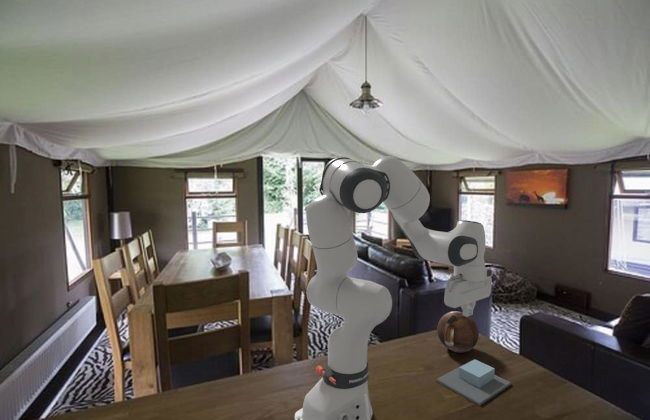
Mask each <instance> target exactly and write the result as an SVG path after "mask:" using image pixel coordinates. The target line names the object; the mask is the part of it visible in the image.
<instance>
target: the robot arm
mask: <svg viewBox="0 0 650 420" xmlns="http://www.w3.org/2000/svg"><path fill="white" fill-rule="evenodd" d="M319 185H320V186H319V188H318V189H319V194H320V195H321V196H319V197H317V198H315V199H313V200H311V202H310V203H309V204H308V205H307V207H306V210H305V215H306V217H305V218H306V224H307V225H306V226H307V232H308V236H309V241H310V244H311V248H312V251H313V255H314V259H315V263H316V274H315V275H313V276H312V277H311V279H309V282H308V284H307V287H306V298H307V301H308V303H309V305H311V306H312V307H315V308H316V309H318V310H320V311H322V312H325V313H328V314H331V315H336V316H339V317H342V318H343V325H340V326H338V327H336V328H334V329H333V330H332V331H331V333H330V334H329V336H328V338H327V362H326V363H325V367H324V368H323V367H322V365H318V366H316V368H315V372H316V373H317V374H318V375H319V376H321V378H320V379H319V380H318V382H317V383H316V384H315V385H314V386H313V387H312V388H311V389H310V390H309V391H308V392H307V394H306V395H305V396H304V400H303V404H302V407H301V408H300V409H298V410H297V411H296V412H295V413H294V420H372V418H373V414H374V413H373V412H374V411H373V407H372V403H371V399H370V395H369V394H370V393H369V386H368V383H369V382H368V379H369V374H370V373H369V363H368V346H369V345H368V343H369V337H370V334H371V333H372V331H373V330H374V328H375V327H377V326H378V325H379V324H382V323H383V322H384V321H385V320H387V318H388V317H389V316H390V314H391V312H392V307H393V298H392V295H391V293H390V291H389V289H388V288H387V287H386V286H385V285H382V284H379V283H377V282H374V281H372V280H367V279H362V278H356V277H351V276H349V275H348V274H347V273H349V272H350V271H352V270H353V268H355V266H356V264H357V263H358V262H357V261H358V258H359V257H358V252H357V251H358V250H357V247H356V242H355V238H354V234H353V230H352V226H351V220H350V217H351V216H350V215H351V212H353V213H357V214H369V213H371V212H373V211H374V210H376V209H377V208H378V207H380V206H381V204H384V205H385V206H386V208H387V209H388V210H389V212H390V215H391V217H392V219H393V221H394V222H395V224H396V225H397V227H398V228H399V230H401V232H402V233H403V235H404V236H405V238H406V239H407V241H408V242H409V244H410V245H411V246H410V247H411V249H412V251H413V254H414V255H415V257H416V258H417V259H418V260H421V261H427V262H433V263H437V264H441V265H447V266H452V267H453V275H452V276H450V278H449V279H448V280H447V282H446V284H445V288H444V296H443V298H444V299H443V302H444V303H443V304H444V305H445V306H447V307H449V308H453V309H457V308H459V307H460V308H461V310H462V313H463V316H466V317H468V316H469V317H470V316H473V314H474V308H475V306H476V303H477V301H480V300H483V299H486V298H489V297H490V295H491V294H492V285H493V283H492V279H493V278H492V276H493V274H494V270H493V269H492V268H490V267H489V268H488V267H486V262H485V257H484V255H485V252H486V230H485V226H484V225H483V223H481V222H479V221H474V220H473V221H472V220H466V219H465V220H464V219H462V220H458V221H457V222H456V226H455V227H454V228H453V229H452V230H450V231H448V232H447V231H446V232H445V231H438V230H433V229H430V228H428V227H424V225H423V224H422V223H421V221H420V219H421V217H422V216H423V215H425V213H426V212H427V210H428V208H429V206H430V201H431V200H430V199H431V196H430V193H429V191H428V189H427V187H426V186H425V184H424V183H423V182H422V180H421V179H420V178H419V177H418V176H417V175H416V174H415V172H414V171H413V170H412V169H410V167H408V165H406V164H405V163H404V162H403V161H401V159H399V158H397V157H396V156H392V155H388V156H387V155H386V156H383V157H380V158H378V159H377V160H376V161H375V162H374V163H373V164H372V165H370V166H367V165H365V164H363V163H362V162H360V161H357V160H354V159H351V158H349V157H341V156H339V157H335V158H334V159H331V160H330V161H328V162H327V163H326V165H325V166H324V168H323V170H322V176H321V181H320V184H319Z"/></svg>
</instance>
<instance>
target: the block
mask: <svg viewBox="0 0 650 420" xmlns="http://www.w3.org/2000/svg"><path fill="white" fill-rule="evenodd" d="M468 362H469V363H468ZM468 362H466V363H467V364H466V363H464V364H465V365H464V364H462V365H463V366H462V365H461V367H460V366H459V378H461V379H463V380H465V381H466V382H468V383H470V384H472V385H474V386H476V387H478V388H480V387H482V386H483V385H485V384H486V383H488V382H490V381H491V380H493V379H494V375H496V374H495V371H496V370H495V369H496V368H494V367H492V366H490V365H489V364H486V363H484V362H481V361H480V360H477V359H473V360H470V361H468Z"/></svg>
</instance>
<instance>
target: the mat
mask: <svg viewBox="0 0 650 420" xmlns="http://www.w3.org/2000/svg"><path fill="white" fill-rule="evenodd" d="M469 362H470V361H467V362H466V363H463V364H461V366H463V365H465V364H467V363H469ZM461 366H459V367H461ZM459 367H456V368H454V369H452V370H450V371H448V372H447V373H444V374H443V375H441V376H439V377H437V378H436V379H435V380H436V382H437V383H439V384H440V385H442V386H444V387H446V388H447V389H449V390H451V391H453V392H455V393H456V394H457V395H460V396H461V397H463V398H465V399H467V400H469V401H470V402H472V403H474V404H475V405H476V406H479V407H480V406H482V405H483V404H485V403H486V402H488V401H489V400H490V399H492V398H493V397H495V396H496V395H498V394H500V392H502V391H504V390H505V389H508V387H509V386H511V384H512V382H511V381H508V380H506V379H504V378H502V377H500V376H498V375H496V374H494V379H493V380H491V381H490V382H488V383H486V384H485V385H483V386H482V387H480V388H478V387H476V386H474V385H472V384H470V383H468V382H466V381H465V380H463V379H461V378H459Z"/></svg>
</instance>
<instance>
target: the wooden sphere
mask: <svg viewBox="0 0 650 420" xmlns="http://www.w3.org/2000/svg"><path fill="white" fill-rule="evenodd" d="M436 329H437V330H436V331H437V332H436V333H437V335H438V340H439V341H440V342H441V343H442V345H443V346H444V347H445V348H446V349H448V350H450V351H451V352H455V353H466V352H469V351H471V350H472V349H474V348H475V347H476V345H477V343H478V340H479V336H480V333H479V328H478V326H477V323H476V322H475V320H473V318H472V317H470V316H468V317H466V316H463V311H462V312H461V311H450V312H447V313H445V314H443V315H442V317H440V319H439V321H438V324H437V327H436Z"/></svg>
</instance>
